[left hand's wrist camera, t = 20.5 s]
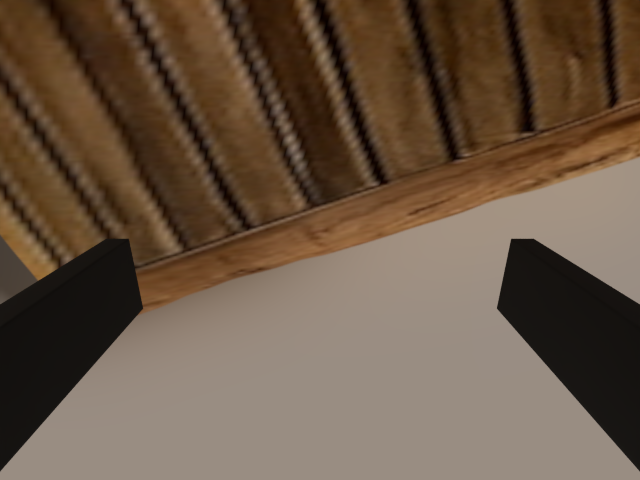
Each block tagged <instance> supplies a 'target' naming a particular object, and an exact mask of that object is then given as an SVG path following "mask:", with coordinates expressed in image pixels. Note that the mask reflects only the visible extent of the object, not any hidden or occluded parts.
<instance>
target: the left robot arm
mask: <svg viewBox="0 0 640 480" xmlns="http://www.w3.org/2000/svg"><path fill="white" fill-rule="evenodd" d="M142 309H143V306H142V301H141V296H140V291H139V286H138V281H137V277H136V272H135V267H134V262H133V257H132V252H131V248H130V243H129V239H105V240H104V241H102V242H101V243H99V244H97V245H96V246H94V247H92V248H91V249H89V250H88V251H86V252H84V253H83V254H81V255H79V256H78V257H76V258H75V259H73V260H71V261H70V262H68V263H67V264H65V265H63V266H62V267H60V268H58V269H57V270H55V271H54V272H52V273H50V274H49V275H47V276H46V277H44V278H42V279H41V280H39V281H37V282H36V283H34V284H33V285H31V286H29V287H28V288H26V289H25V290H23V291H21V292H20V293H18V294H16V295H15V296H13V297H12V298H10V299H8V300H7V301H5V302H4V303H2V304H0V471H1V470H2V469H3V468H4V466H5V465H6V464H7V463H8V462H9V461H10V460H11V458H12V457H13V456H14V455H15V454H16V453H17V452H18V450H19V449H20V448H21V447H22V446H23V445H24V444H25V442H26V441H27V440H28V439H29V438H30V437H31V436H32V434H33V433H34V432H35V431H36V430H37V429H38V428H39V426H40V425H41V424H42V423H43V422H44V421H45V420H46V419H47V417H48V416H49V415H50V414H51V413H52V412H53V411H54V409H55V408H56V407H57V406H58V405H59V404H60V403H61V401H62V400H63V399H64V398H65V397H66V396H67V395H68V393H69V392H70V391H71V390H72V389H73V388H74V387H75V385H76V384H77V383H78V382H79V381H80V380H81V379H82V377H83V376H84V375H85V374H86V373H87V372H88V371H89V369H90V368H91V367H92V366H93V365H94V364H95V363H96V361H97V360H98V359H99V358H100V357H101V356H102V355H103V354H104V352H105V351H106V350H107V349H108V348H109V347H110V346H111V344H112V343H113V342H114V341H115V340H116V339H117V338H118V336H119V335H120V334H121V333H122V332H123V331H124V330H125V328H126V327H127V326H128V325H129V324H130V323H131V322H132V320H133V319H134V318H135V317H136V316H137V315H138V314H139V313H140V311H141V310H142ZM497 309H498V310H499V311H500V312H501V314H502V315H503V316H504V317H505V318H506V319H507V320H508V322H509V323H510V324H511V325H512V326H513V327H514V328H515V330H516V331H517V332H518V333H519V334H520V335H521V336H522V338H523V339H524V340H525V341H526V342H527V343H528V344H529V346H530V347H531V348H532V349H533V350H534V351H535V352H536V354H537V355H538V356H539V357H540V358H541V359H542V360H543V362H544V363H545V364H546V365H547V366H548V367H549V368H550V370H551V371H552V372H553V373H554V374H555V375H556V376H557V377H558V379H559V380H560V381H561V382H562V383H563V384H564V385H565V387H566V388H567V389H568V390H569V391H570V392H571V393H572V395H573V396H574V397H575V398H576V399H577V400H578V401H579V403H580V404H581V405H582V406H583V407H584V408H585V409H586V411H587V412H588V413H589V414H590V415H591V416H592V417H593V419H594V420H595V421H596V422H597V423H598V424H599V425H600V426H601V428H602V429H603V430H604V431H605V432H606V433H607V434H608V436H609V437H610V438H611V439H612V440H613V441H614V442H615V444H616V445H617V446H618V447H619V448H620V449H621V450H622V452H623V453H624V454H625V455H626V456H627V457H628V458H629V460H630V461H631V462H632V463H633V464H634V465H635V466H636V467H637V469H638V470H639V471H640V304H638V303H637V302H635V301H633V300H632V299H630V298H628V297H627V296H625V295H624V294H622V293H620V292H619V291H617V290H615V289H614V288H612V287H611V286H609V285H607V284H606V283H604V282H603V281H601V280H599V279H598V278H596V277H594V276H593V275H591V274H590V273H588V272H586V271H585V270H583V269H582V268H580V267H578V266H577V265H575V264H573V263H572V262H570V261H569V260H567V259H565V258H564V257H562V256H561V255H559V254H557V253H556V252H554V251H552V250H551V249H549V248H547V247H546V246H544V245H543V244H541V243H539V242H538V241H536V240H535V239H511V243H510V248H509V252H508V257H507V262H506V267H505V272H504V277H503V281H502V286H501V291H500V296H499V301H498V306H497Z"/></svg>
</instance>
